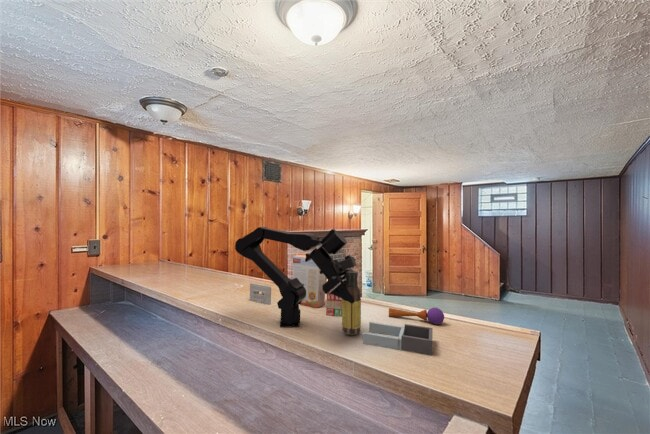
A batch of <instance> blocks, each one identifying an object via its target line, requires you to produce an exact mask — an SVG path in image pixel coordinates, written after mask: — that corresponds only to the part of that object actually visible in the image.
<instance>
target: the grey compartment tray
mask: <svg viewBox="0 0 650 434" xmlns="http://www.w3.org/2000/svg"><path fill="white" fill-rule="evenodd" d="M368 324H369V325H368V332H365V331H363V332H362V344H364V345H365V344H366V345H371V346H378V347H382V348H389V349H395V350H400V351H405V352H412V353H415V354H416V353H417V354H423V355H428V356H433V337H434V336H433V333H434V331H433V327H428V326H421V325H414V324H407V323H405V324H404V326H400V325H394V324H388V323H380V322H374V321H369V323H368Z"/></svg>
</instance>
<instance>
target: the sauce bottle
mask: <svg viewBox="0 0 650 434" xmlns="http://www.w3.org/2000/svg"><path fill="white" fill-rule="evenodd" d="M345 275H346V288H347V290H348V291H349V293H350V294H351V296H352V297H353V299H354V301H355V302H354V303H350V302H348V301H346V300H344V299H342V317H341V326H342V327H341V329H342V332H343V333H344V334H346V335H350V336H354V335H358V334H360V333H361V330H362V329H361V326H362V297H361V295H362V292H361V289H360V288H359V286H358V276H359V272H358V271H357V270H353V269H352V270H349V271H346V272H345Z"/></svg>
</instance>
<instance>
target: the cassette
mask: <svg viewBox="0 0 650 434" xmlns="http://www.w3.org/2000/svg"><path fill="white" fill-rule="evenodd" d="M249 301H250V302H251V301H252V302H254V303H259V304H263V305H267V306H268V305H270V306H271V305H272V286H269V285H265V284H259V283H256V282H255V283H254V282H250V283H249Z"/></svg>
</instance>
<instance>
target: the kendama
mask: <svg viewBox="0 0 650 434" xmlns="http://www.w3.org/2000/svg"><path fill="white" fill-rule="evenodd" d="M388 317H389V318H390V317H391V318H393V317H394V318H395V317H396V318H397V317H398V318H399V317H417V318H419V319H421V320H423V321H425V322H427V321H429V323H431V324H433V325H436V326H437V325H441V324H442V323H444V320H445V314H444V311H442V310H441V309H440V308H438V307H432V308H431V307H430V308H429V309H428V310H427V309H424V310H421V311H418V312H414V311H413V312H412V311H407V310H401V309H396V308H391V307H389V308H388Z"/></svg>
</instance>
